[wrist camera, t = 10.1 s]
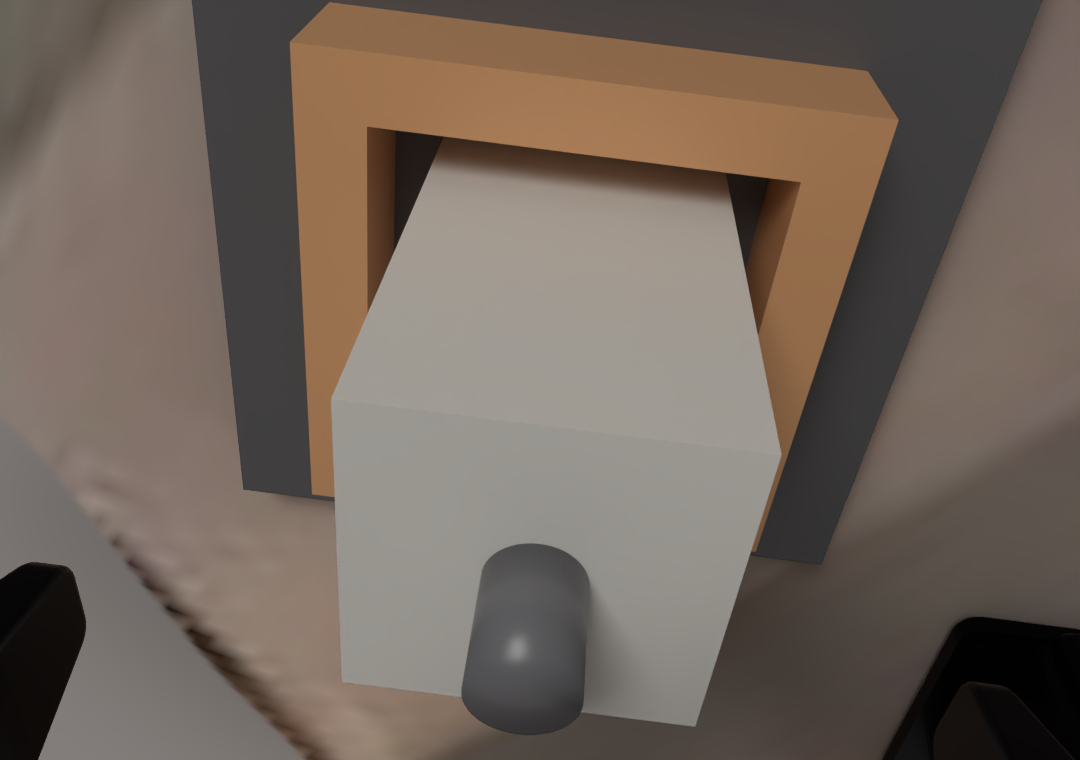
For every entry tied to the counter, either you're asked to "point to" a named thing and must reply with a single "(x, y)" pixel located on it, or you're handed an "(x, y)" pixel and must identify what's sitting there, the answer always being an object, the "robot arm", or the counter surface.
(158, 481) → the counter surface
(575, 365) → the light gray block
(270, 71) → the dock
